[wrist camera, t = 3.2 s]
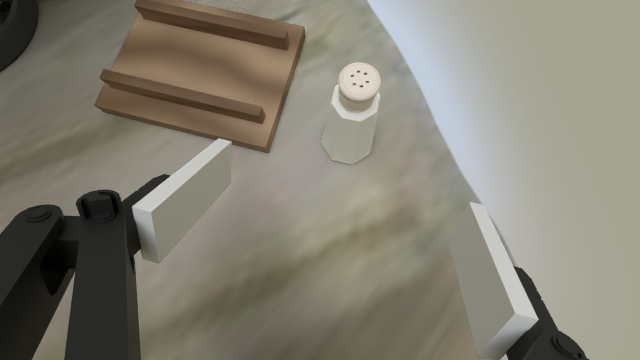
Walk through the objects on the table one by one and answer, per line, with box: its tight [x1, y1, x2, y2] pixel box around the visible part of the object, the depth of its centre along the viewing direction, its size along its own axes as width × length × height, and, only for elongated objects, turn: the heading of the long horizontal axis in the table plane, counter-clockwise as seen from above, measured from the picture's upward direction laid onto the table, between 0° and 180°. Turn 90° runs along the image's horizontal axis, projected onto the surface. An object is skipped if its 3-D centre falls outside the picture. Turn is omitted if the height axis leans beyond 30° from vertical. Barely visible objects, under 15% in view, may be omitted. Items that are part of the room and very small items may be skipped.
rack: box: [94, 0, 305, 153], centre depth 30 cm, size 14×18×3 cm
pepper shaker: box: [321, 62, 381, 165], centre depth 25 cm, size 5×5×11 cm
